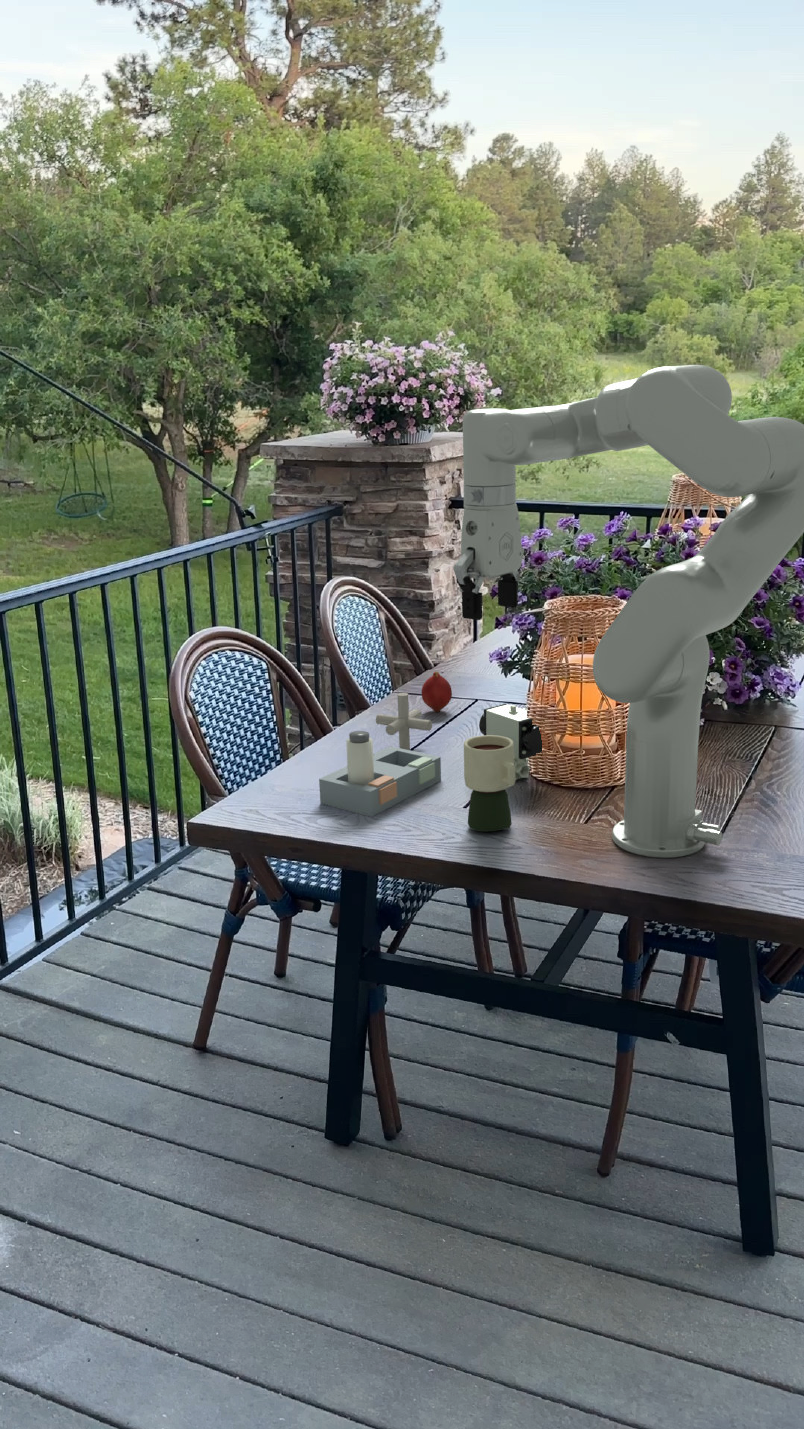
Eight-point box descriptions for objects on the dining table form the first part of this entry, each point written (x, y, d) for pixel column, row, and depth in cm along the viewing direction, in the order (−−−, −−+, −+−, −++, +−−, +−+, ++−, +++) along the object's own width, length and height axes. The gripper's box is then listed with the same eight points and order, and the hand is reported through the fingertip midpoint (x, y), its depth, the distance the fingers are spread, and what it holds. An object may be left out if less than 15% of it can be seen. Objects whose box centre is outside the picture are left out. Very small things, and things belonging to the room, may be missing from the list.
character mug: (533, 833, 166) (533, 746, 162) (494, 846, 162) (493, 757, 158) (485, 810, 174) (484, 728, 170) (447, 822, 170) (445, 738, 166)
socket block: (442, 780, 187) (442, 755, 185) (372, 817, 173) (371, 790, 172) (391, 769, 193) (390, 744, 191) (320, 803, 179) (318, 777, 178)
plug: (380, 800, 180) (377, 732, 176) (364, 808, 176) (361, 739, 173) (360, 795, 182) (357, 728, 179) (343, 803, 179) (340, 735, 175)
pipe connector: (443, 744, 204) (441, 689, 201) (417, 762, 195) (415, 705, 192) (392, 737, 208) (390, 683, 205) (365, 754, 200) (362, 699, 197)
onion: (421, 707, 225) (420, 667, 223) (451, 706, 225) (450, 666, 223) (422, 716, 220) (421, 675, 217) (452, 715, 220) (452, 674, 217)
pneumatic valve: (527, 790, 182) (527, 717, 178) (478, 770, 191) (477, 700, 187) (553, 782, 185) (553, 709, 181) (503, 763, 194) (503, 694, 190)
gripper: (478, 505, 160) (479, 627, 165) (542, 491, 173) (541, 604, 178) (433, 502, 164) (436, 621, 170) (499, 489, 178) (500, 599, 183)
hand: (490, 612), depth 174 cm, fingers open, 9 cm apart
